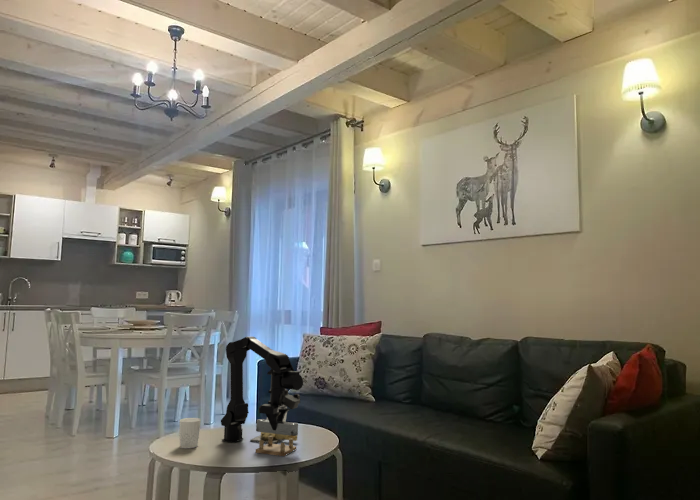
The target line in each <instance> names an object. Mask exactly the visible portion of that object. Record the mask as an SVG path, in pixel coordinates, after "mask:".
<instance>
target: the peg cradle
mask: <svg viewBox="0 0 700 500" xmlns="http://www.w3.org/2000/svg"><path fill="white" fill-rule="evenodd" d="M272 441H273V436H269V437H268V444H266V443H264V440H260V441H259V444H258V445H259V446H258V448H257V447H256V448H255V454H264V455H271V456H278V455H279V456H278V457H285V455H286V454H287V455H289V454H291V453H293V452H294V451H293V450H295V449H296V450H297V446H294V441H293V439H289V440H288V441H289V442H288V445H286V443H285V442H280V444H278V443H276V444H272ZM296 450H295V451H296ZM292 451H293V452H292ZM290 452H291V453H290ZM288 453H289V454H288ZM287 455H286V456H287Z"/></svg>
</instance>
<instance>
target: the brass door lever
mask: <svg viewBox="0 0 700 500" xmlns="http://www.w3.org/2000/svg"><path fill="white" fill-rule="evenodd" d="M260 435H261V439H263V440H268V437H269V436H273V440H275V439H284V440H283V441H285V440H286V441H289V439H293V442H296V441H298V435H296V436H289V435H281V434H273V433H264V432H260Z"/></svg>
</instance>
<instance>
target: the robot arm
mask: <svg viewBox="0 0 700 500" xmlns="http://www.w3.org/2000/svg"><path fill="white" fill-rule="evenodd" d="M250 350H251V351H252V352H253V353H255V354H256V355H258V356H259V357H261V358H262V359H263V360H265V363H266V365H267V366H268V367H269V368H270V370H269V371H268V372H266V374H267V375H269V376H271V377H270V389H269V390H268V394H270V398H269V399H270V400H268V401H267V403H263V404H262V405H260V406H259V407H258V414H265V415H266V419H267V418H268V420H269V422H270V425H271V427H272V429H273V430H276V426H277V421H283V419H284V416H285V414H286V413H287V414H288V412H289V411H290V410H294V409H297V408H298V405H299V404H301V395H300V394H298V393H295V394H289V390H294V391H299V390H301V389H302V387H303V384H304V380H303V376H302V375H301V374H300V373H301V372H300V371H295V369H294V367H293V364H292V363H291V360H290V357H289V355H288V354H287V353H284V352H282V351H281V352H280V351H276V350H273V349H272V348H271V347H269V346H268V345H266V344H264V343H263V342H261V341H260V340H259V339H257V337H255V336H245V337H243V338H241V339H237V340H235V341H230V342H228V344H227V345H226V347H225V353H226V359H227V360H228V362H229V364H230V400H229V402H228V404H227V406H226V411H225V414H224V415H223V417H222V418H221V419H220V424H221V426H222V427H223V428H224V430H223V432H224V433H223V434H224V435H223V438H222V439H221V442H227V443H237V442H239V441H242V440H244V437H243V428H242V427H243V425H245V423H246V420H247V418H248V414H249V403H248V402H245V399H244V375H243V373H244V371H243V369H244V368H243V366H244V365H243V364H244V363H245V360H246V358H247V355H248V351H250Z"/></svg>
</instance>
